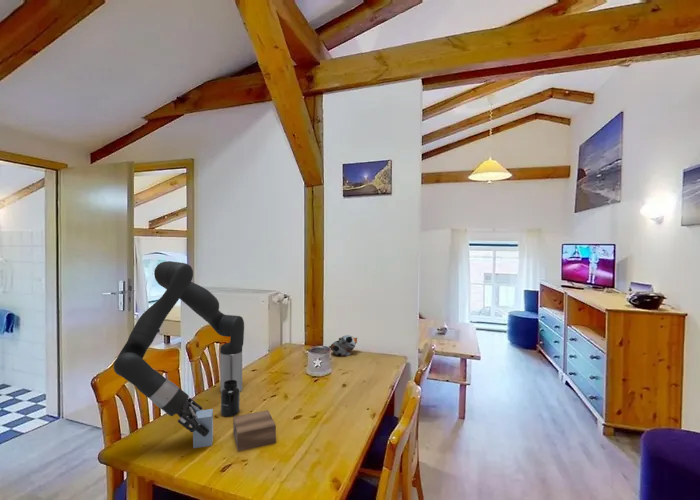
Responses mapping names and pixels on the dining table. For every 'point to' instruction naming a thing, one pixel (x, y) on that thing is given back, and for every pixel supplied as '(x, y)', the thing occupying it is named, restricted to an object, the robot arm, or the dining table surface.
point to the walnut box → (254, 430)
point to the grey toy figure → (344, 345)
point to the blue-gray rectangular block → (206, 420)
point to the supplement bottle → (230, 398)
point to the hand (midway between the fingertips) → (208, 427)
